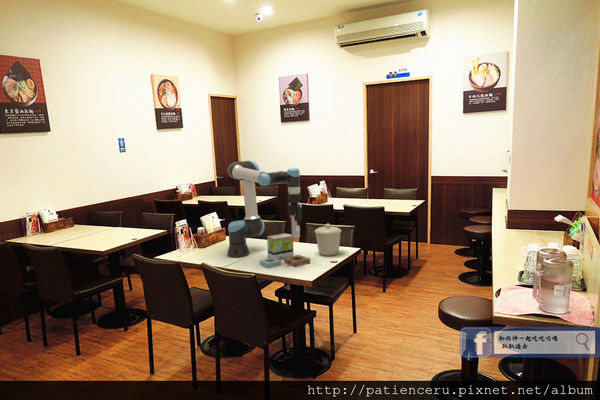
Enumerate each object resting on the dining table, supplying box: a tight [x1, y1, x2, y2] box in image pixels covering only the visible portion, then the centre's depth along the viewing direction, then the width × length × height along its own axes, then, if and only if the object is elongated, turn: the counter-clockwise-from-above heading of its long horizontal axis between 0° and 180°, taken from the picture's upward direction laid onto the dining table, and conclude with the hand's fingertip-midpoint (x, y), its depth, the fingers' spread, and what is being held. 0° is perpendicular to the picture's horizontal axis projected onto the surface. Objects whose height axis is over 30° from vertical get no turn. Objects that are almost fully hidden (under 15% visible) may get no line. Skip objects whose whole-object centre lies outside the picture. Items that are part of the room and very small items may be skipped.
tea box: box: [266, 233, 294, 260], centre depth 270 cm, size 15×10×15 cm
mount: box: [259, 257, 283, 269], centre depth 254 cm, size 10×10×3 cm
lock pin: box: [290, 215, 301, 239], centre depth 253 cm, size 5×5×14 cm
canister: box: [314, 223, 342, 257], centre depth 273 cm, size 18×18×21 cm
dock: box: [283, 254, 311, 268], centre depth 256 cm, size 12×12×3 cm
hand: (295, 230), depth 253 cm, fingers closed on lock pin, 4 cm apart
